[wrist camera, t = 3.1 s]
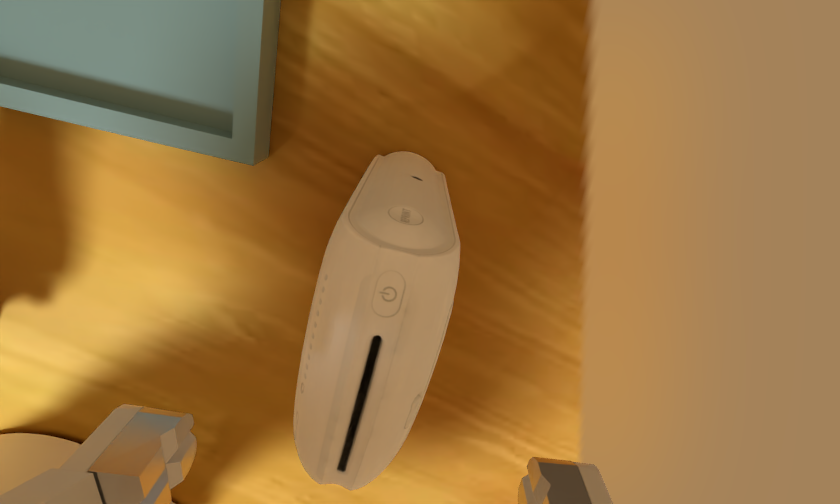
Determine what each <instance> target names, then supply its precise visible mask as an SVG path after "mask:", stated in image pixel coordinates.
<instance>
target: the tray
mask: <svg viewBox="0 0 840 504" xmlns="http://www.w3.org/2000/svg"><path fill="white" fill-rule="evenodd" d="M280 5H281V0H0V106H1V107H5V108H10V109H14V110H18V111H22V112H27V113H31V114H35V115H39V116H44V117H48V118H52V119H56V120H61V121H65V122H69V123H73V124H78V125H82V126H86V127H91V128H95V129H99V130H103V131H108V132H112V133H116V134H120V135H125V136H129V137H133V138H137V139H142V140H146V141H150V142H154V143H159V144H163V145H167V146H171V147H176V148H180V149H184V150H188V151H193V152H197V153H201V154H205V155H210V156H214V157H218V158H222V159H227V160H231V161H235V162H239V163H244V164H248V165H252V166H254V165H255V164H257V163H259V162H261V161H262V160H264V159H266V158H268V157H269V145H270V133H271V120H272V107H273V94H274V82H275V69H276V56H277V43H278V31H279V18H280Z"/></svg>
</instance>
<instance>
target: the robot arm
mask: <svg viewBox="0 0 840 504" xmlns="http://www.w3.org/2000/svg"><path fill="white" fill-rule="evenodd" d="M193 425H194V420H193V415H192V414H189V413H182V412H176V411H169V410H163V409H157V408H150V407H144V406H136V405H129V404H122V405H121V406H119V407H117V408H116V409H114V410H113V411H112V412H111V413H110V415H109V416H108V417H107V418H106V419H105V420H104V421H103V422H102V423H101V424H100V425H99V426H98V427H97V428H96V430H95V431H94V432H93V433H92V434H91V435H90V436H89V437H88V438H87V439H86V440H85V441H84V442H83V443H82V445H81V444H78V443H76V442H72V441H69V440H65V439H62V438H57V437H53V436H47V435H41V434H31V433H10V434H1V435H0V504H175V503H173V502H172V501H171V500H172V499H171V489H172V488H173V487H175V486H176V485H178V484H179V483H181V482H182V481H183V480H184V479H185V477H186V475H187V473H188V472H189V470H190V468H191V466H192V463H193V460H194V457H195V455H196V448H197V441H196V437H195V436H194V435H193V434H192V433H191V432H190V430H191V428H192V427H193ZM527 469H528V475H527V476H525V477H523V478H522V480H521V482H520V485H519V489H518V504H613V502H612V500H611V498H610V495H609V493H608V490H607V488H606V486H605V483H604V481H603V479H602V476H601V474H600V472H599V470H598V468H597V467H596V466H595V465H593V464H586V463H578V462H572V461H566V460H557V459H548V458H539V457H532V458H531V459H530V460H529V462H528V465H527Z"/></svg>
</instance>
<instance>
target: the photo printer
mask: <svg viewBox="0 0 840 504" xmlns="http://www.w3.org/2000/svg"><path fill="white" fill-rule="evenodd" d="M459 263H460V239H459V235H458V231H457V227H456V222H455V218H454V214H453V210H452V206H451V201H450V196H449V192H448V188H447V183H446V178H445V175H444V173H443V172H439V171H436V170H435V168H434V166H433V165H432V164H431V163H430V162H429V161H428V160H427V159H425V158H424V157H422V156H420V155H418V154H415V153H412V152H406V151H399V152H394V153H390V154H388V155H386V156H381V155H377V156H375V157H374V159H373V160H372V162H371V163H370V165H369V167H368V168H367V170H366V172H365V173H364V175H363V177H362V179H361V180H360V182H359V184H358V185H357V187H356V189H355V191H354V192H353V194H352V196H351V198H350V200H349V201H348V203H347V205H346V207H345V208H344V210H343V212H342V214H341V216H340V218H339V220H338V221H337V223H336V226H335V228H334V230H333V233H332V235H331V237H330V240H329V242H328V245H327V248H326V251H325V254H324V257H323V261H322V265H321V268H320V272H319V276H318V280H317V284H316V288H315V293H314V297H313V301H312V305H311V310H310V315H309V319H308V324H307V329H306V334H305V339H304V345H303V350H302V355H301V362H300V368H299V374H298V381H297V387H296V396H295V406H294V419H293V428H294V440H295V444H296V448H297V452H298V456H299V458H300V461H301V463H302V465H303V467H304V469H305V470H306V472H307V473H308V474H309V475H310V477H311V478H312V479H314V480H315V481H316V482H317V483H319V484H332V483H333V484H338V485H341V486H343V487H345V488H346V489H348V490H355V489H359V488H361V487H363V486H365V485H367V484H368V483H370V482H371V481H373V480H374V479H375V478H376V477H377V476H378V475H380V474H381V472H382V471H383V470H384V469H385V468H386V467H387V466H388V465H389V464H390V462H391V461H392V460H393V458H394V457H395V455H396V454H397V452H398V451H399V450H400V448H401V447H402V445H403V443H404V441H405V440H406V438H407V436H408V434H409V432H410V429H411V427H412V425H413V423H414V420H415V418H416V416H417V413H418V411H419V408H420V406H421V404H422V401H423V398H424V396H425V393H426V390H427V388H428V385H429V382H430V379H431V377H432V374H433V371H434V368H435V365H436V362H437V359H438V356H439V353H440V350H441V346H442V343H443V340H444V337H445V334H446V330H447V326H448V323H449V319H450V316H451V312H452V308H453V303H454V295H455V291H456V286H457V280H458V272H459Z"/></svg>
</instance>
